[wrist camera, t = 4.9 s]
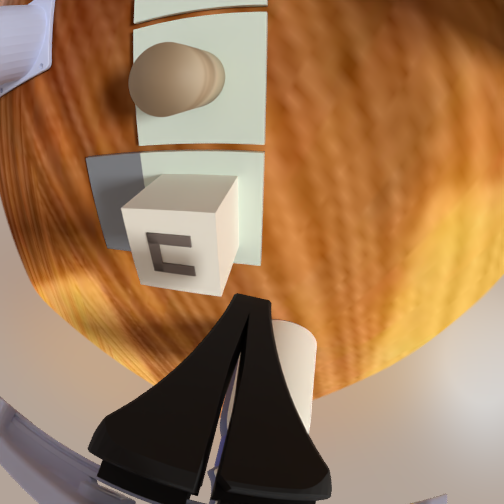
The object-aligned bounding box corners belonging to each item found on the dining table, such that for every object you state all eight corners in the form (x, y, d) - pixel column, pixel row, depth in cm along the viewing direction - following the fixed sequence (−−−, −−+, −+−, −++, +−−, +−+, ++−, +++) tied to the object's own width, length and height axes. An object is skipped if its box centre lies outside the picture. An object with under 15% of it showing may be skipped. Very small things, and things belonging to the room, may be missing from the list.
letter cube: (171, 239, 20) (140, 285, 15) (162, 174, 17) (120, 209, 12) (239, 245, 19) (220, 297, 15) (238, 175, 16) (214, 214, 12)
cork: (166, 109, 14) (131, 120, 11) (165, 54, 12) (127, 50, 9) (225, 106, 14) (202, 114, 10) (225, 47, 12) (201, 36, 8)
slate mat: (109, 245, 21) (107, 248, 21) (88, 156, 17) (85, 158, 17) (159, 251, 21) (157, 254, 21) (143, 151, 16) (139, 153, 16)
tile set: (159, 251, 21) (157, 254, 21) (145, -63, 7) (142, -64, 6) (261, 262, 20) (260, 265, 20) (267, -84, 6) (267, -87, 5)
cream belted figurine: (302, 375, 28) (272, 588, 8) (227, 356, 28) (167, 576, 7) (337, 333, 23) (315, 614, 3) (245, 308, 23) (167, 608, 3)
